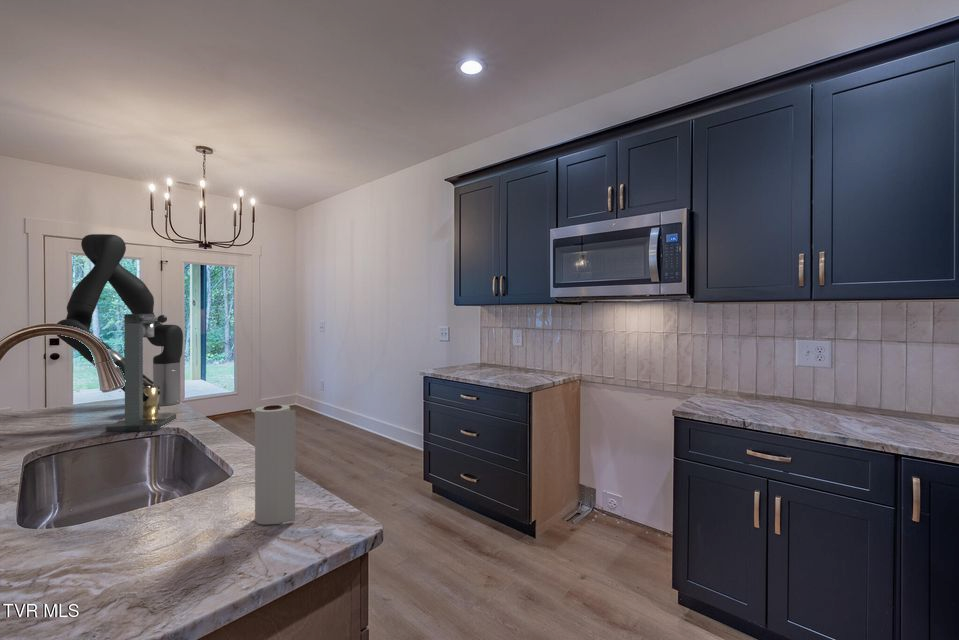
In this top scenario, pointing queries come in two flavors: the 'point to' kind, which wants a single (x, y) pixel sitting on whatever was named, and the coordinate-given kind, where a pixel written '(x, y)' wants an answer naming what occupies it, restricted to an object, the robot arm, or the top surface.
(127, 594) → the top surface
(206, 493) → the top surface
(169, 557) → the top surface
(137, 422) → the press
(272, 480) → the paper towel roll
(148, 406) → the cylinder
